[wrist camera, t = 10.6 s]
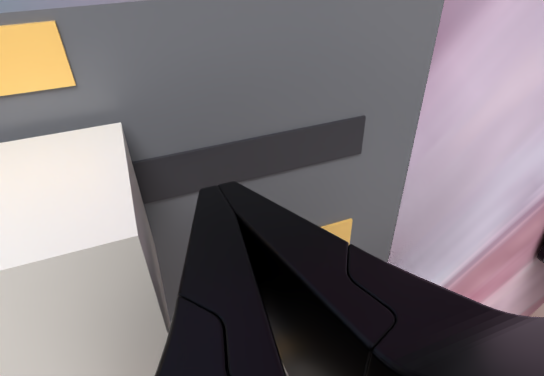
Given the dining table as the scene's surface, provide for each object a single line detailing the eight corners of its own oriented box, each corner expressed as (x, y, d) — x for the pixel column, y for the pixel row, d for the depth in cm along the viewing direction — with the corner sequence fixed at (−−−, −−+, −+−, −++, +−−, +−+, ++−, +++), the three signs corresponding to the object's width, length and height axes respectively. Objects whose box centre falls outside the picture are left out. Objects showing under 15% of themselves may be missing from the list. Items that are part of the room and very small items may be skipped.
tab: (121, 122, 8) (137, 235, 5) (154, 246, 10) (180, 376, 7) (-45, 150, 7) (-137, 304, 4) (29, 279, 9) (2, 441, 6)
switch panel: (399, -34, 11) (452, -26, 9) (339, 374, 24) (357, 407, 22) (-237, 15, 7) (-335, 43, 5) (100, 473, 20) (101, 522, 18)
